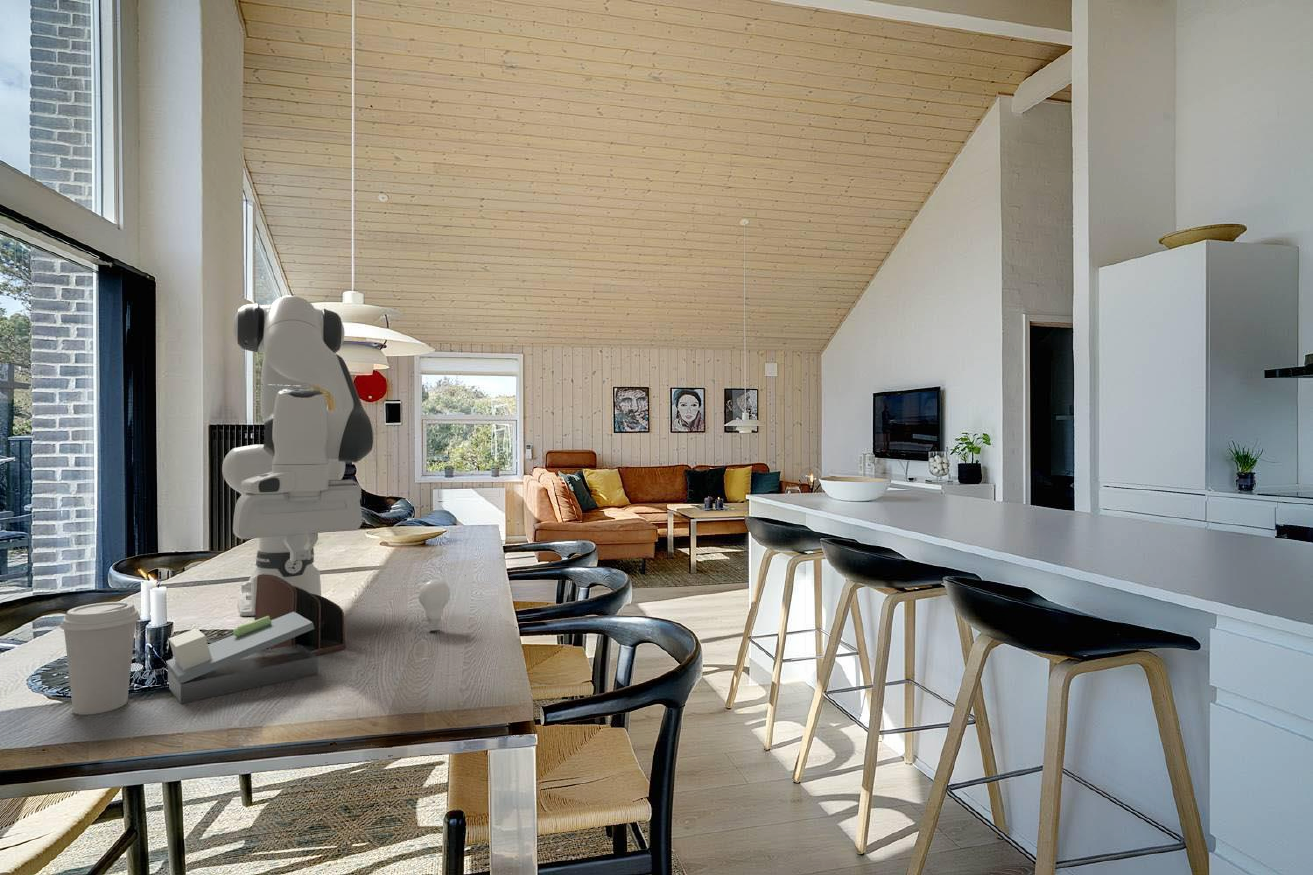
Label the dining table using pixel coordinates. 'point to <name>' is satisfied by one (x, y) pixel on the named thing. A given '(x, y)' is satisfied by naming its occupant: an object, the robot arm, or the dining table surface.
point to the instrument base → (248, 673)
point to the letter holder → (284, 599)
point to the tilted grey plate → (231, 645)
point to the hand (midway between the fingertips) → (300, 560)
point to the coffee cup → (99, 655)
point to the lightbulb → (434, 601)
